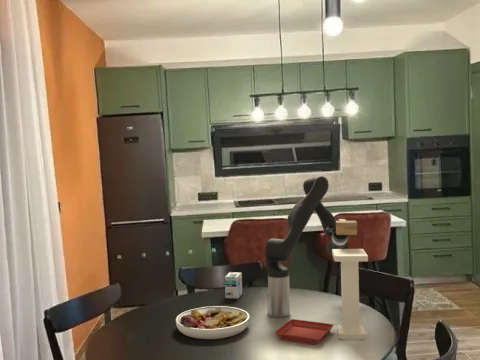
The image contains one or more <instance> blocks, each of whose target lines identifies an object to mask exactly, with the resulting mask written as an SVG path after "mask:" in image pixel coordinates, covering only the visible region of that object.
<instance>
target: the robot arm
mask: <svg viewBox="0 0 480 360" xmlns="http://www.w3.org/2000/svg"><path fill="white" fill-rule="evenodd" d="M302 186H303V191H304V194H305V196H304V197H302V198H301V199H300V200H299V201H298V202H297V203H296V204H295V205H294V206H293V207H292V208H291V210H290V212H289V214H288V215H287V219H286V220H287V227H288V232H287V235H286V236H285V238H269V239H268V240H267V241H266V243H265V248H264V255H265V267H266V268H265V269H266V271H267V289H268V290H267V292H266V299H267V300H266V301H267V303H266V304H267V305H266V307H267V314H268V315H269V316H270V318H271V317H272V318H284V317H288V316H290V314H291V307H290V306H291V305H290V303H291V301H290V300H291V299H290V270H289V268H288V267H286V266H285V265H284V264H282V261H284V262H286V261H288V260H290V258H291V257H292V255H293V253H294V250H295V248H296V245H297V244H298V241H299V239H300V236H301V235H302V233H303V231H304V229H305V227H307V225H308V223H309V221H310V219H311V217H312V215H313V214H314V212H315V213H316V215H317V217H318V219H319V222H320V223H321V227H322V229H323V232H324V234H325V237H328V238H331V239H329V241H328V242H327V243H326V250H327V253H328V254H329V255H330V256H332V257H333V255H332V249H350V244H349V242H348V240H349V236H350V235H337V234H336V221H340V220H338V219H337V220H336V218H335V216H334V215H333V214H332V213H331V211H330V210H329V209H327V207H326V206H325V205H324V204H323V203H322V200H323V198H324V197H325V195H326V194H327V192H328V191H329V180H328V178H326V176H323V175H316V176H313V177H310V178H307V179H305V180H304V182H303V184H302ZM345 220H346V221H350V219H349V220H348V219H345Z"/></svg>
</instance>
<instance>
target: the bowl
mask: <svg viewBox="0 0 480 360" xmlns="http://www.w3.org/2000/svg"><path fill="white" fill-rule="evenodd" d="M250 317H251V316H250V314H249V313H248V311H246V310H244V309H241V308H238V307H233V306H232V307H231V306H225V305H224V306H223V305H222V306H219V305H218V306H217V305H216V306H215V305H213V306H202V307H198V308H192V309H189V310H188V309H187V310H185V311H183V312H181V313H180V314H178V315H177V316H176V318H175V324H176V328H177V329H178V331H180V333H182V334H183V335H185V336H187V337H190V338H192V339H193V338H194V339H197V340H198V339H201V340H219V339H220V340H221V339H225V338H230V337H233V336H236V335H238V334H240V333H241V332H243V331H244V330H245V329H247V327H248V326H249V323H250Z"/></svg>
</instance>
